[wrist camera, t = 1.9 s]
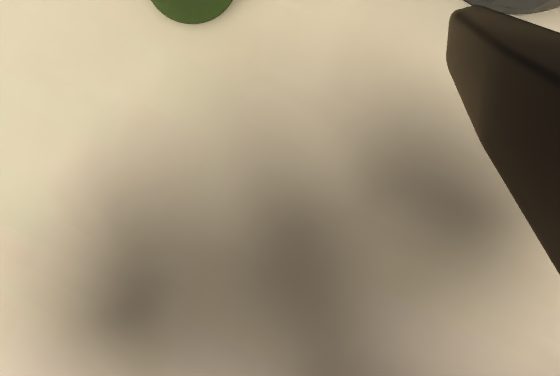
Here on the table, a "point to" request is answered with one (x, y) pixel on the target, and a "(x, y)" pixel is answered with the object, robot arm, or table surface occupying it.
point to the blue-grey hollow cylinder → (517, 5)
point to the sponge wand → (191, 9)
